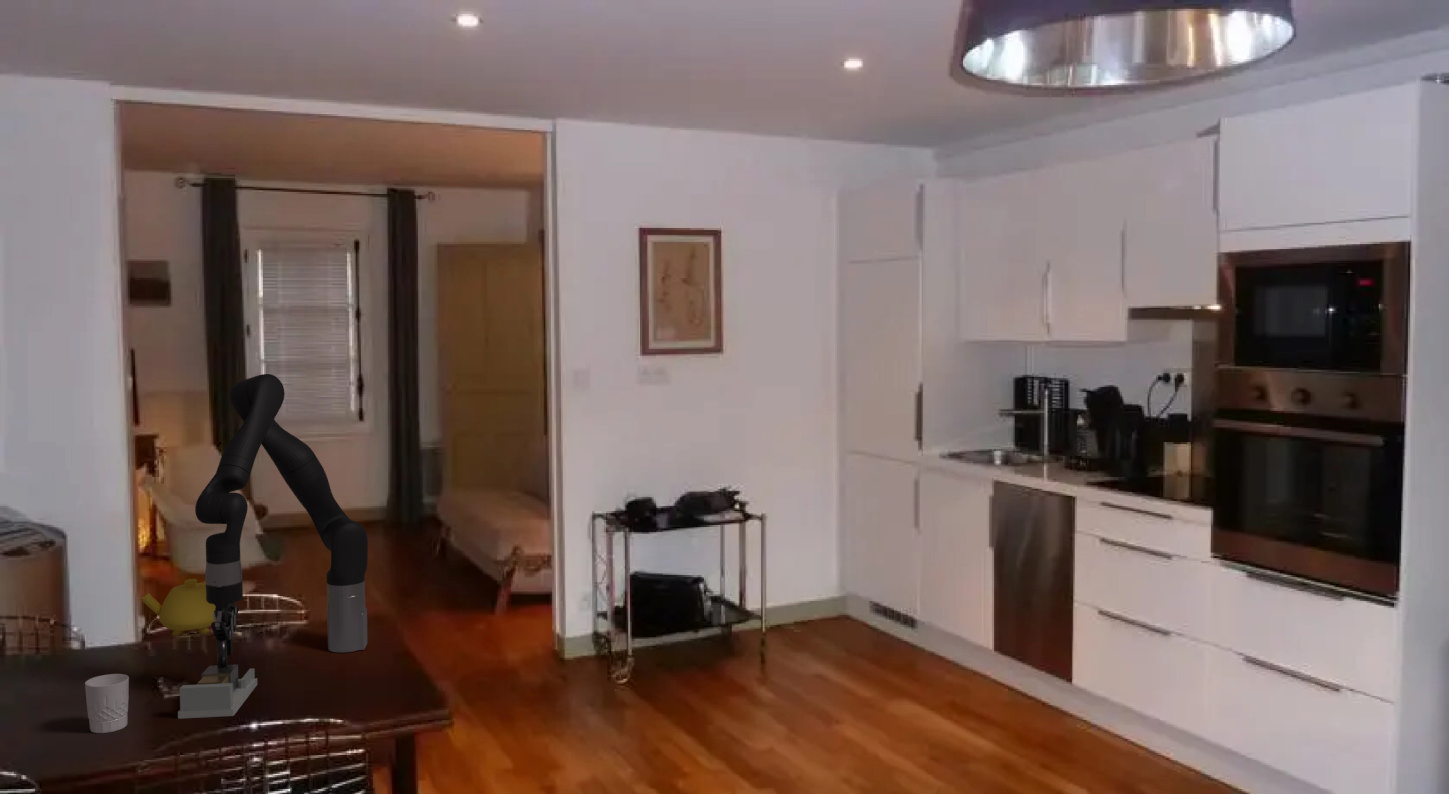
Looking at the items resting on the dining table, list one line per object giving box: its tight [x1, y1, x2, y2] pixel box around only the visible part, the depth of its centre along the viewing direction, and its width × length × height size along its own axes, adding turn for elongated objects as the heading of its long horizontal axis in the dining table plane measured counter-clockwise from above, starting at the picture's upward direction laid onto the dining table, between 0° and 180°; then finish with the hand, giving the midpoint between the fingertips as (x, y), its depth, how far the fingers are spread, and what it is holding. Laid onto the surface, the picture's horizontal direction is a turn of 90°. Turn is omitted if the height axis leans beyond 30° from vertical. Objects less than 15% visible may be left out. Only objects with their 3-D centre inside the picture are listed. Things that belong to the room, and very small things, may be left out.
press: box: [177, 668, 258, 720], centre depth 242 cm, size 21×11×6 cm, turn 9°
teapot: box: [140, 578, 216, 637], centre depth 294 cm, size 20×16×14 cm
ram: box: [200, 639, 239, 692], centre depth 242 cm, size 6×6×11 cm
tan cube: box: [196, 675, 229, 685], centre depth 237 cm, size 5×5×5 cm
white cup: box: [84, 673, 130, 734], centre depth 226 cm, size 8×8×10 cm
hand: (226, 654), depth 248 cm, fingers closed
